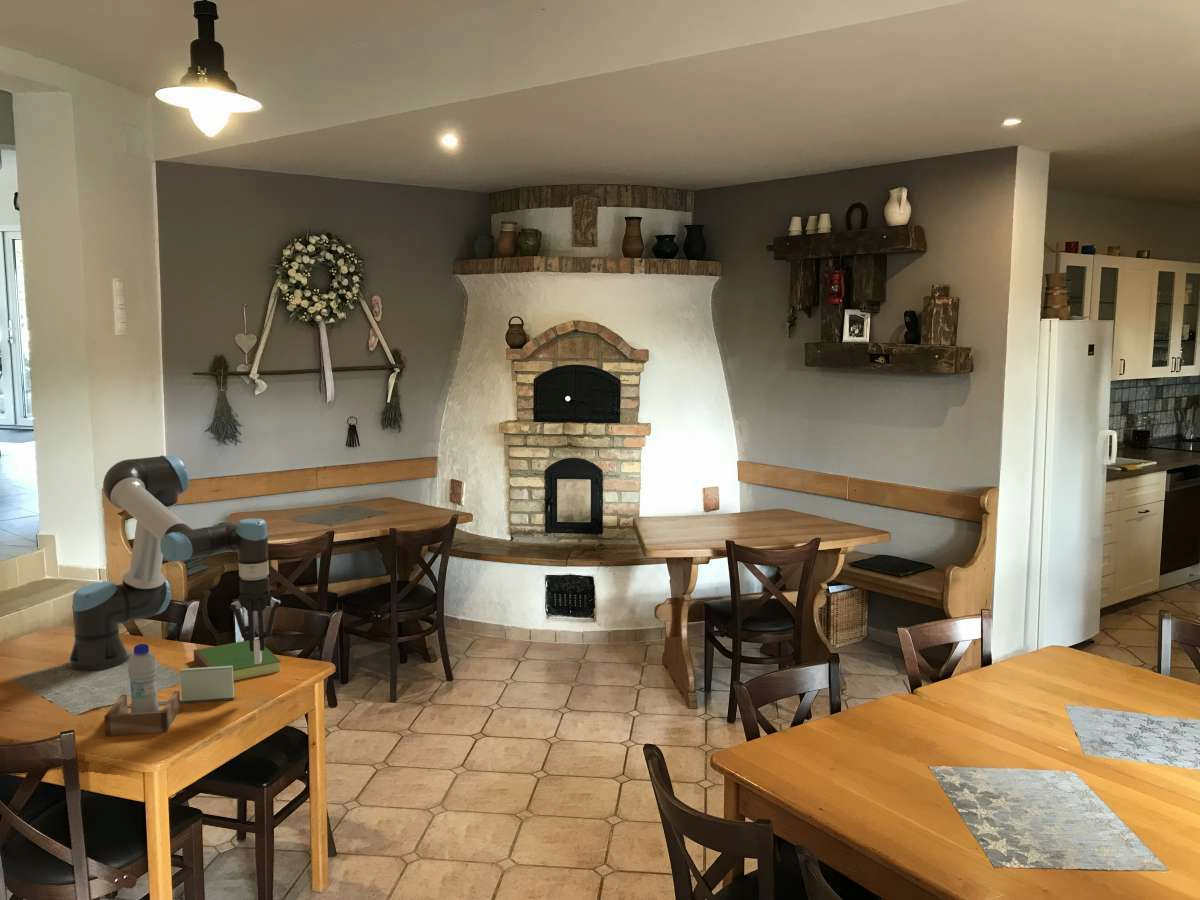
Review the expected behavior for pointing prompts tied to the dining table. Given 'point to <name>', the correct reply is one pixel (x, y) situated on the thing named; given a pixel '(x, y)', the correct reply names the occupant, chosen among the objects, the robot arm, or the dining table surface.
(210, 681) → the pale grey flat panel
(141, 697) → the bottle
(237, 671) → the hardcover book
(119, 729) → the cradle
